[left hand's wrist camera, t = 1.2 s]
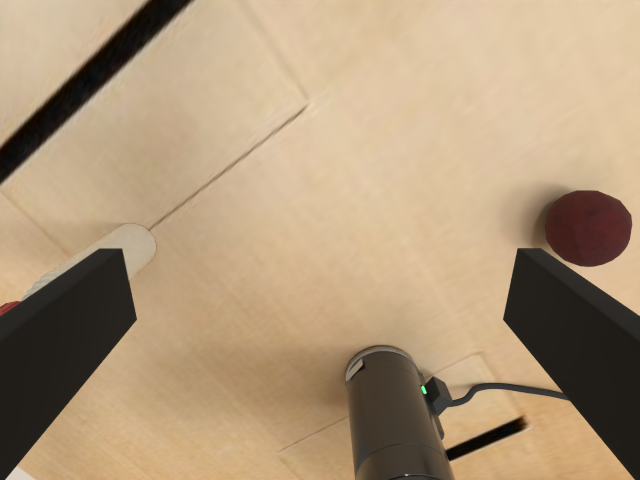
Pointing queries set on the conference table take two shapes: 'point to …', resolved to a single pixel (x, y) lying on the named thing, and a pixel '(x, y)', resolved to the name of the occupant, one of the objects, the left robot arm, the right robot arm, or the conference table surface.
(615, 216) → the dark red ball
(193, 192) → the conference table surface
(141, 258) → the bottle
